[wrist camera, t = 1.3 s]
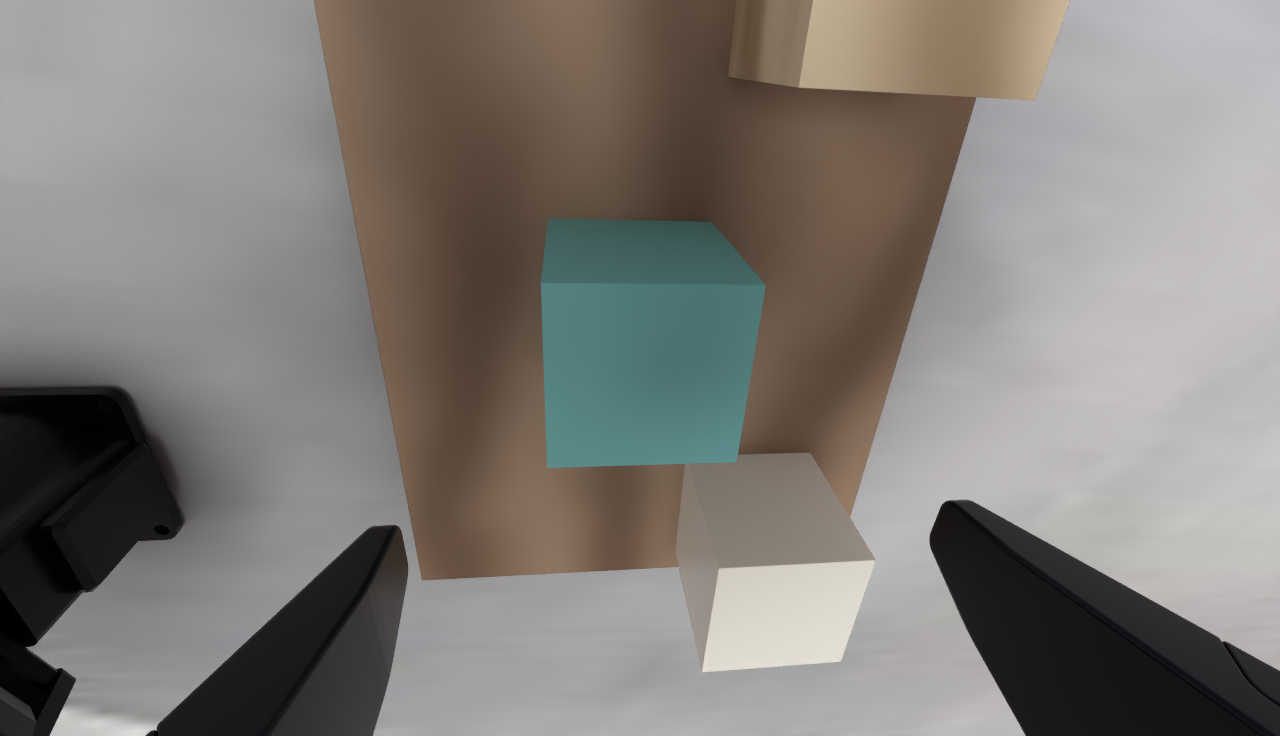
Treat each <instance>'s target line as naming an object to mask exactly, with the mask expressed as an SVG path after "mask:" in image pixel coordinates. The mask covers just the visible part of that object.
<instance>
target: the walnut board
mask: <svg viewBox="0 0 1280 736" xmlns="http://www.w3.org/2000/svg"><path fill="white" fill-rule="evenodd" d="M314 5H315V10H316V16H317V21H318V26H319V32H320V37H321V42H322V48H323V53H324V59H325V64H326V69H327V75H328V80H329V85H330V91H331V96H332V101H333V107H334V112H335V117H336V123H337V128H338V133H339V139H340V144H341V149H342V155H343V160H344V165H345V171H346V176H347V181H348V187H349V192H350V198H351V203H352V208H353V214H354V219H355V224H356V230H357V235H358V240H359V246H360V251H361V256H362V262H363V267H364V272H365V278H366V283H367V288H368V294H369V299H370V304H371V310H372V315H373V320H374V326H375V331H376V336H377V342H378V347H379V353H380V358H381V363H382V369H383V374H384V379H385V385H386V390H387V395H388V401H389V406H390V411H391V417H392V422H393V427H394V433H395V438H396V443H397V449H398V454H399V459H400V465H401V470H402V475H403V481H404V486H405V491H406V497H407V502H408V508H409V513H410V518H411V524H412V529H413V534H414V540H415V545H416V550H417V556H418V561H419V566H420V572H421V577H422V580H437V579H456V578H475V577H494V576H513V575H532V574H551V573H570V572H589V571H608V570H627V569H646V568H665V567H679V565H678V561H677V556H676V552H675V548H676V539H677V530H678V521H679V512H680V503H681V494H682V485H683V476H684V467H685V464H662V465H629V466H596V467H563V468H547V452H546V422H545V392H544V362H543V332H542V302H541V277H542V268H543V259H544V250H545V241H546V232H547V223H548V218H560V219H604V220H647V221H691V222H712V223H713V224H714V225H715V226H716V227H717V229H718V230H719V231H720V232H721V233H722V234H723V236H724V237H725V238H726V239H727V240H728V241H729V243H730V244H731V245H732V246H733V247H734V248H735V250H736V251H737V252H738V253H739V254H740V255H741V257H742V258H743V259H744V260H745V261H746V262H747V264H748V265H749V266H750V267H751V268H752V269H753V271H754V272H755V273H756V274H757V275H758V276H759V278H760V279H761V280H762V281H763V282H764V283H765V284H766V288H765V294H764V300H763V306H762V312H761V318H760V324H759V330H758V336H757V342H756V348H755V354H754V360H753V366H752V372H751V378H750V384H749V390H748V396H747V403H746V409H745V415H744V421H743V427H742V433H741V439H740V445H739V451H738V455H740V454H775V453H811V455H812V456H813V458H814V460H815V461H816V463H817V465H818V466H819V468H820V470H821V471H822V473H823V474H824V476H825V478H826V479H827V481H828V483H829V484H830V486H831V488H832V489H833V491H834V492H835V494H836V496H837V497H838V499H839V501H840V502H841V504H842V506H843V507H844V509H845V511H846V512H847V514H848V515H849V517H850V515H851V512H852V508H853V505H854V502H855V498H856V495H857V492H858V488H859V485H860V482H861V478H862V475H863V472H864V468H865V465H866V462H867V459H868V455H869V452H870V449H871V445H872V442H873V439H874V435H875V432H876V429H877V425H878V422H879V419H880V415H881V412H882V409H883V405H884V402H885V399H886V395H887V392H888V389H889V386H890V382H891V379H892V376H893V372H894V369H895V366H896V362H897V359H898V356H899V352H900V349H901V346H902V342H903V339H904V336H905V332H906V329H907V326H908V322H909V319H910V316H911V312H912V309H913V306H914V303H915V299H916V296H917V293H918V289H919V286H920V283H921V279H922V276H923V273H924V269H925V266H926V263H927V259H928V256H929V253H930V249H931V246H932V243H933V239H934V236H935V233H936V229H937V226H938V223H939V220H940V216H941V213H942V210H943V206H944V203H945V200H946V196H947V193H948V190H949V186H950V183H951V180H952V176H953V173H954V170H955V166H956V163H957V160H958V156H959V153H960V150H961V147H962V143H963V140H964V137H965V133H966V130H967V127H968V123H969V120H970V117H971V113H972V110H973V107H974V103H975V100H976V97H965V96H947V95H928V94H909V93H891V92H872V91H853V90H835V89H816V88H798V87H791V86H785V85H778V84H772V83H765V82H758V81H752V80H745V79H739V78H732V77H728V72H729V63H730V54H731V45H732V36H733V27H734V18H735V9H736V0H314Z"/></svg>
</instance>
